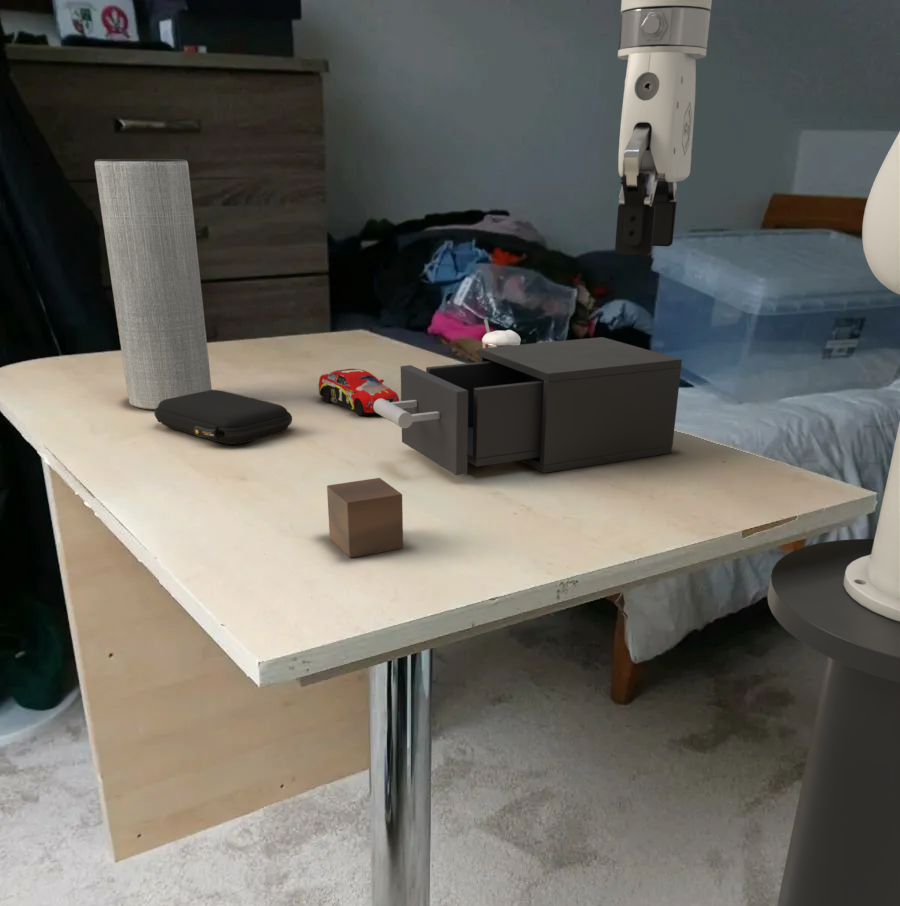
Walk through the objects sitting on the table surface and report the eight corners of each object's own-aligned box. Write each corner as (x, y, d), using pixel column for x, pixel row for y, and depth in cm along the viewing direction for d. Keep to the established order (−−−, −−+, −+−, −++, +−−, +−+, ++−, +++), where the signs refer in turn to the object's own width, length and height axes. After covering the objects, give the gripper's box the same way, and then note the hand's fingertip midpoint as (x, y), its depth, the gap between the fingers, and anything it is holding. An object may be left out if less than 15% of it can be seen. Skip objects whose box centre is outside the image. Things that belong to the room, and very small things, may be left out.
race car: (406, 414, 111) (406, 380, 110) (367, 420, 109) (366, 386, 107) (351, 392, 121) (350, 360, 119) (313, 397, 118) (311, 365, 117)
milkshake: (498, 400, 118) (500, 317, 113) (525, 408, 114) (529, 323, 110) (469, 405, 115) (470, 321, 111) (496, 414, 111) (499, 327, 107)
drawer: (413, 482, 86) (412, 396, 82) (362, 447, 96) (359, 369, 92) (586, 455, 93) (591, 376, 90) (522, 426, 103) (525, 353, 100)
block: (403, 548, 74) (402, 493, 72) (349, 558, 72) (347, 502, 70) (381, 529, 77) (379, 477, 75) (329, 538, 75) (326, 485, 74)
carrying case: (139, 428, 105) (222, 453, 96) (136, 401, 104) (219, 424, 95) (217, 410, 112) (301, 432, 104) (214, 384, 111) (299, 404, 102)
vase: (223, 404, 115) (198, 160, 103) (139, 414, 110) (104, 160, 99) (199, 388, 123) (174, 159, 111) (121, 397, 118) (86, 159, 106)
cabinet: (543, 473, 91) (548, 373, 87) (477, 438, 102) (478, 348, 98) (671, 453, 97) (682, 359, 93) (596, 422, 108) (602, 337, 104)
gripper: (689, 24, 72) (666, 260, 80) (722, 46, 87) (700, 244, 94) (594, 29, 75) (580, 256, 82) (641, 49, 89) (626, 241, 97)
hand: (644, 249), depth 88 cm, fingers open, 9 cm apart
